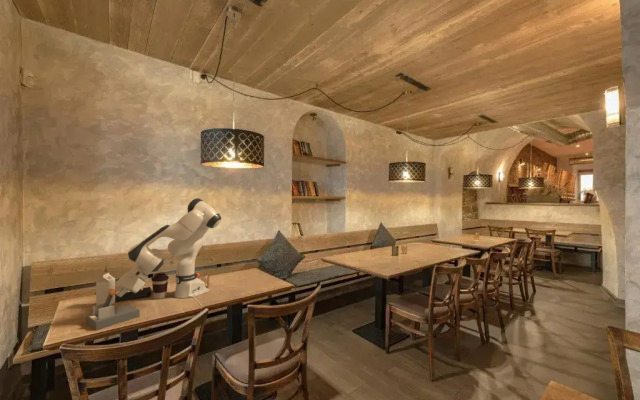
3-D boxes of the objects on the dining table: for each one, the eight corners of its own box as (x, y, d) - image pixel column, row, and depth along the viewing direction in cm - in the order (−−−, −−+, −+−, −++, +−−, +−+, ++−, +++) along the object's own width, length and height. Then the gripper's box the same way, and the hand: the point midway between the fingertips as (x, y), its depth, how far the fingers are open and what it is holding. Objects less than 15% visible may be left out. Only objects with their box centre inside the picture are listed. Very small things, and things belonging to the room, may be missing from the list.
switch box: (128, 310, 170) (128, 295, 170) (139, 316, 162) (139, 300, 162) (86, 322, 154) (86, 305, 154) (96, 330, 146) (96, 312, 146)
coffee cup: (161, 300, 187) (161, 277, 187) (147, 299, 189) (147, 276, 189) (171, 295, 197) (172, 273, 196) (159, 294, 199) (159, 272, 198)
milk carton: (96, 307, 175) (96, 275, 174) (102, 303, 182) (102, 272, 181) (109, 306, 176) (109, 275, 176) (115, 302, 183) (115, 272, 183)
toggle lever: (104, 312, 156) (115, 288, 160) (107, 314, 154) (117, 290, 158) (98, 312, 154) (109, 288, 157) (101, 313, 152) (111, 289, 155)
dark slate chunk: (112, 296, 194) (112, 289, 194) (150, 291, 206) (150, 284, 206) (111, 304, 181) (111, 296, 181) (152, 297, 193) (152, 290, 193)
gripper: (125, 268, 171) (105, 289, 163) (142, 274, 160) (121, 296, 152) (133, 274, 175) (114, 295, 167) (150, 280, 163) (131, 302, 155)
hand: (118, 295), depth 159 cm, fingers closed
